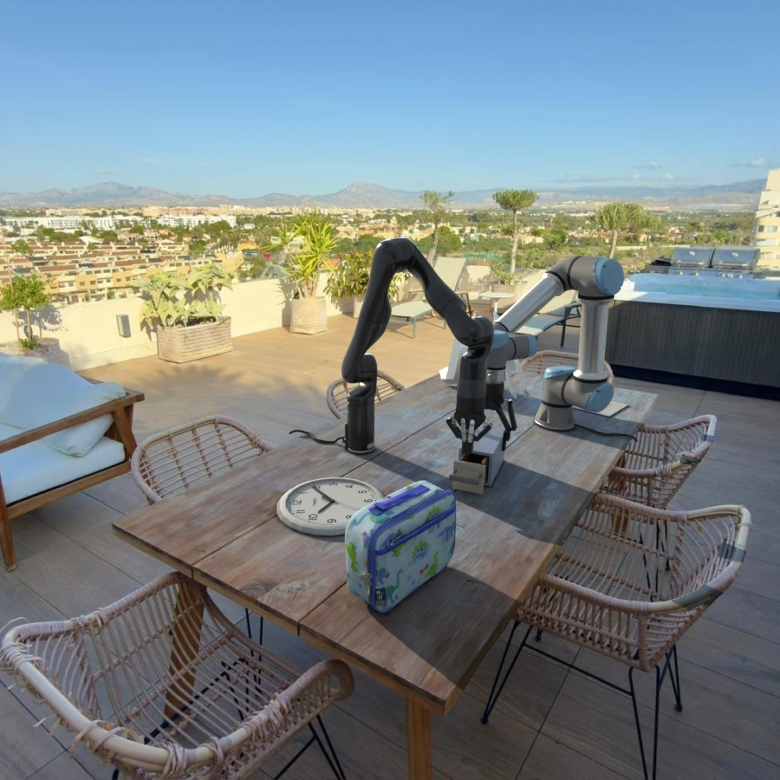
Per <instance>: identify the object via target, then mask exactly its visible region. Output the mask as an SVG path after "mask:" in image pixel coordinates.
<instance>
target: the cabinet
mask: <svg viewBox="0 0 780 780" xmlns="http://www.w3.org/2000/svg"><path fill="white" fill-rule="evenodd" d="M482 427H483V426H480V427H479V428H478V429H476V432H475V435H478V434H479V433H480V432H481V431H482V430H483V428H482ZM504 430H505V429H504ZM504 430H503V429H497V428H493V427H492V428H491V430H490V431H489V432H487V433H486V434H485V435H484V436H483V437H482V438H481V439H480V440H479V441H478V442H476V441H474V444H473V451H472V452H471V453H473V454H479V455H485V456H490V457H489V469H488V478H487V480H486V482H485V484H484V487H485V486H486V487H491V486H492V484H493V482H494V480H495V477H496V476H497V474H498V472H499V471H500V468H501V466H502V464H503V462H504V461H505V451H502V444H503V432H504ZM459 446H460V447H458V459H457V460H459V459H460V457H461V456H462V455H463V453H464V452H462V444H461V445H459Z"/></svg>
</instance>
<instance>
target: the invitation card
mask: <svg viewBox="0 0 780 780" xmlns="http://www.w3.org/2000/svg"><path fill="white" fill-rule="evenodd" d="M628 406H629V404H627V403H623V402H618V401H614V400H611V402H610V404H609V405H608V406H607V407H606V408H605V409H604V410H602V411H601V412H597V413H595V412H591V411H586V410H584V409H581V408H579V407H576V406H573V409H575V410H581V411H584V412H587V413H593V414H596V415H600V416H604V417H608V418H609V417H611V416H613V415H614V414H616V413H617V412H619V411H621V410H623V409H624V408H626V407H628Z"/></svg>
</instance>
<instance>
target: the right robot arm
mask: <svg viewBox="0 0 780 780" xmlns="http://www.w3.org/2000/svg"><path fill="white" fill-rule="evenodd" d="M624 283H625V271H624V269H623V266H622V264H620V262H619V261H618V260H617V259H615V258H610V257H606V256H588V255H587V256H586V255H584V256H583V255H573V256H569V257H567V258H565V259H563V260H561V261H559V262H557V263H555V264H554V265H553V266H552V267H550V268H549V269H548V270H547V271H545V272H544V273H543V274H542V275H541V277H540V280H539V281H538V282H537V283H536V284H535V285H534V286H533V287H531V289H529V290H528V291H527V292H526V293H525V294H523V296H521V297H520V298H519V299H518V300H517V301H516V302H515V303H514V304H513V305H512V306H510V308H508V309H507V310H506V311H505V312H504V313H503V314H502V315H501V316H499V318H498V319H497V320H496V321H495V320H494V322H492V324H493V327H494V339H493V343H492V347H491V350H490V354H489V357H488V360H487V370H486V397H485V410H490V411H495V413H496V414H497V416H498V417H499V420H500V421H501V423H502V425H503V428H504V432H503V444H502V451H504V452H506V449H507V442H509V441H510V439H511V434H512V433H511V432H516V431H517V428H518V424H517V420H516V415H515V410H514V399H513V398H510V399H508V398H506V397H505V395H504V392H505V381H506V377H505V372H506V362H507V363H508V362H510V361H514V360H517V359H519V360H526V359H528V358H531V357H532V358H533V357H534V356H535V355H536V354H537V352H538V347H539V343H538V340H537V339H536V337H535V336H534V335H532V334H530V333H529V334H528V333H523V334H517V332H518V331H520V330H521V328H523V326H525V325H526V324H527V323H528V322H530V321H531V319H532V318H533V317H535V316H536V315H537V314H538V313H539V312H540V311H541V310H543V308H545V306H546V305H548V304H549V303H550V302H551V301H552V300H553V299H554V298H555V297H560V296H562V295H563V294H564V293H566V292H568V291H577V299H578V300H579V302H580V303H581V315H580V327H579V328H580V329H579V330H580V331H579V345H578V362H577V367H574V366H569V365H568V366H567V365H557V366H550V367H547V368H546V369H545V371H544V375H543V378H542V379H543V381H542V392H541V402H540V405H539V407H538V410H537V411H536V413H535V417H534V424H535V425H536V426H537V427H539V428H542V429H544V430H549V431H556V432H567V431H572V430H574V429H575V428H580V429H583V430H586V431H588V432H592V433H595V434H597V435H601V436H606V437H607V436H609V437H610V436H618V437H627V438H630V439H632V440H633V441H635V442H639V440H638V439H637V437H635V436H634V435H632V434H629V433H622V432H621V433H620V432H602V431H599V430H596V429H593V428H590V427H587V426H584V425H582V424H578V423H576V418H575V417H576V416H575V413H574V407H579V408H581V409H584V410H586V411H585V412H588V411H591V412H590V413H592V412H595V413H594V414H596V413H597V412H601V411H602V410H604V409H605V408H606V407H607V406H608V405H609V404H610V402H611V401H613V398H614V394H615V387H614V386H613V384H612V383H611V382H609V381H608V377H609V374H608V373H607V372H606V371H605V370H604V369H605V359H606V358H605V357H606V355H605V354H606V345H607V333H608V322H609V320H608V319H609V309H610V308H609V307H610V303H611V302H612V301H613V300H614V299H615V296H616V294H618V293H619V292H620V291H621V290H622V287H623V286H624ZM503 404H505V407H507V413H508V418H509V420H508V418H507V415H506V414H505V412H504V410H503V406H502V405H503ZM584 410H583V411H584ZM468 436H469V431H468Z"/></svg>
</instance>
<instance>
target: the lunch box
mask: <svg viewBox="0 0 780 780" xmlns="http://www.w3.org/2000/svg"><path fill="white" fill-rule="evenodd" d="M456 531H457V499H456V495H455V493H454V492H453V490H450V489H442V488H440V487H439V486H437V485H435V484H433V483H432V482H430V481H428V480H418V481H416V482H413V483H410V484H409V485H406V486H405V487H402V488H400V489H398V490H396V491H394V492H392V493H390V494H388V495H385V497H384V498H382V499H380V500H378V501H376V502H374V503H372V504H370V505H368V506H366V507H364V508H362V509H360V510H358V511H357V512H355V513H354V514H353V515H352V517H351V518H350V520H349V522H348V524H347V527H346V531H345V534H344V552H345V577H346V578H345V580H346V586H347V589H348V592H349V593H350V594H352V595H354V596H356V597H357V598H359V599H361V600H363V602H365V603H367V604H368V605H370V607H371V608H372V609H373V610H375V611H376V612H378V613H380V614H382V613H383V614H385V613H387V612H389V611H391V609H393V608H394V607H395V606H396V605H397V604H400V602H401V601H402V600H404V599H406V597H409V596H410V595H411V594H412V593H414V592H415V591H416V590H417V589H418V588H420V587H421V586H422V585H423V584H424V583H425V582H427V581H428V580H430V579H432V578H433V577H434V576H436V575H437V574H439V573H441V572H442V571H443V570H445V568H446V567H447V566H448V564H449V563H450V561H451V560H452V557H453V554H454V551H455V548H456V547H455V546H456Z"/></svg>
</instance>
